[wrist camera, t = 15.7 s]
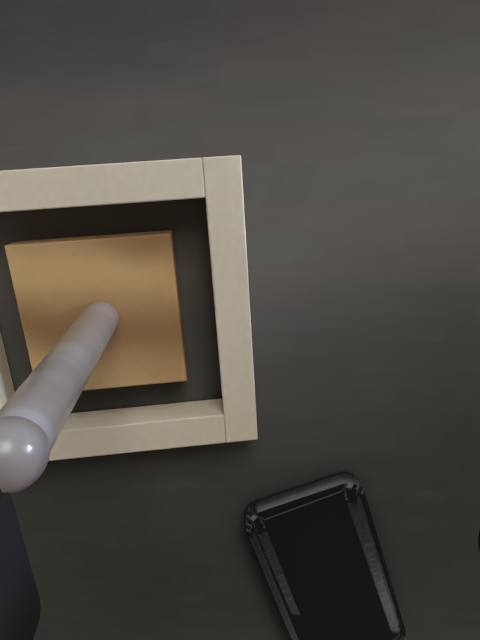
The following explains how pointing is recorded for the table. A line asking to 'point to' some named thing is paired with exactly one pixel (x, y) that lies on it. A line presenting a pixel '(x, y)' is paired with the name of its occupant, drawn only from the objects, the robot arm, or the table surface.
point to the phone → (325, 561)
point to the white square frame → (228, 290)
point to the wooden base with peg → (87, 333)
